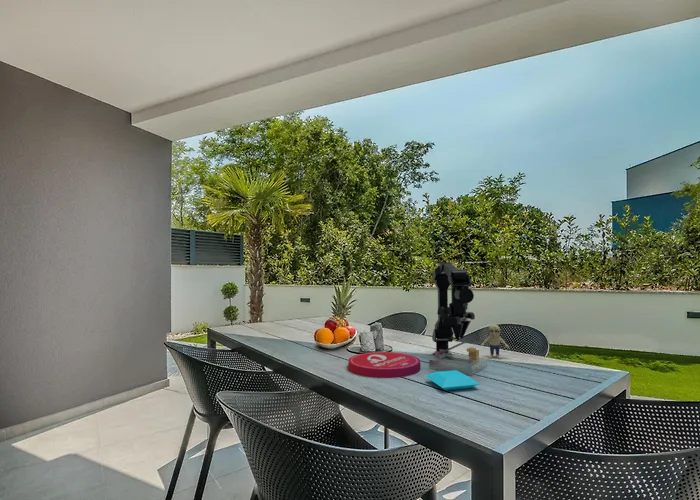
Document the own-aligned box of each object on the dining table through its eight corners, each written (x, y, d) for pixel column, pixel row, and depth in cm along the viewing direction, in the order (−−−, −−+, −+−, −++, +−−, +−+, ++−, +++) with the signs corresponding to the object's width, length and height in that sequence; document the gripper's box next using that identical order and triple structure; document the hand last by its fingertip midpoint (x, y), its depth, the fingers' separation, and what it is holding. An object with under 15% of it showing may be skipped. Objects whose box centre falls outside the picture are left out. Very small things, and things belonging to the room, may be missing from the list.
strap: (440, 354, 172) (439, 351, 173) (466, 343, 165) (465, 340, 166) (437, 355, 170) (436, 353, 170) (463, 344, 163) (462, 341, 163)
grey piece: (446, 360, 181) (446, 345, 181) (487, 366, 169) (486, 350, 170) (429, 368, 168) (429, 352, 168) (471, 375, 157) (471, 358, 157)
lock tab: (471, 356, 173) (471, 346, 173) (479, 357, 171) (478, 347, 171) (466, 358, 168) (465, 348, 168) (473, 360, 166) (473, 349, 166)
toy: (479, 357, 185) (479, 324, 185) (480, 355, 190) (480, 323, 191) (509, 360, 180) (508, 326, 181) (509, 357, 186) (509, 324, 186)
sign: (434, 367, 171) (378, 356, 192) (434, 358, 171) (378, 348, 192) (390, 383, 149) (333, 369, 170) (390, 373, 149) (333, 360, 170)
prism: (442, 395, 137) (442, 381, 137) (425, 382, 150) (424, 370, 150) (480, 390, 140) (479, 376, 140) (460, 378, 154) (459, 366, 154)
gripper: (450, 297, 178) (450, 333, 178) (430, 301, 164) (430, 340, 163) (474, 299, 171) (475, 336, 171) (456, 303, 157) (456, 343, 156)
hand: (459, 339), depth 166 cm, fingers open, 4 cm apart
